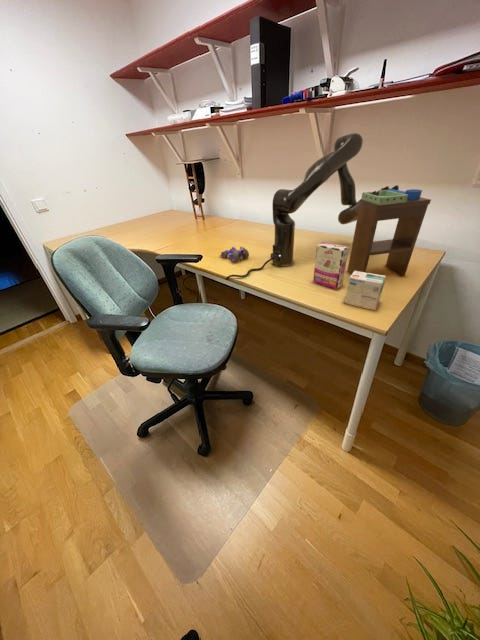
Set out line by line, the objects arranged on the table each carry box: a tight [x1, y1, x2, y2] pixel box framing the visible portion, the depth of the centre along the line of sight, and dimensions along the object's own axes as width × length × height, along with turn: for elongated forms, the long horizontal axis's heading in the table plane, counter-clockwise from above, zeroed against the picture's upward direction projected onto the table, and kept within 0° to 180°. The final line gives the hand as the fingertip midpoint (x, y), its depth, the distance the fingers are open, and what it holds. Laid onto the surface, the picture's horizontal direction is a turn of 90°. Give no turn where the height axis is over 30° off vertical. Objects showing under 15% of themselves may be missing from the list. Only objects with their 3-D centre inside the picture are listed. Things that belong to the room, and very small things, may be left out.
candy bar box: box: [312, 241, 350, 290], centre depth 102 cm, size 11×5×16 cm, turn 45°
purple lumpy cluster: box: [219, 246, 250, 264], centre depth 136 cm, size 10×15×6 cm, turn 43°
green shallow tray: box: [360, 190, 408, 205], centre depth 93 cm, size 12×10×2 cm
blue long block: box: [380, 187, 423, 200], centre depth 98 cm, size 20×5×3 cm, turn 9°
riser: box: [346, 196, 432, 277], centre depth 103 cm, size 12×20×30 cm, turn 99°
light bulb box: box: [344, 271, 387, 311], centre depth 90 cm, size 11×7×11 cm, turn 56°
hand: (392, 188), depth 101 cm, fingers open, 3 cm apart
